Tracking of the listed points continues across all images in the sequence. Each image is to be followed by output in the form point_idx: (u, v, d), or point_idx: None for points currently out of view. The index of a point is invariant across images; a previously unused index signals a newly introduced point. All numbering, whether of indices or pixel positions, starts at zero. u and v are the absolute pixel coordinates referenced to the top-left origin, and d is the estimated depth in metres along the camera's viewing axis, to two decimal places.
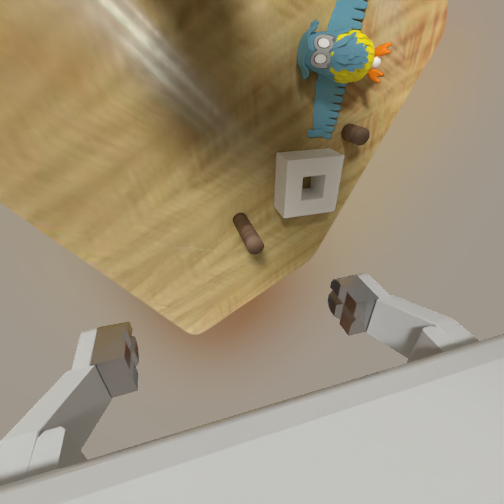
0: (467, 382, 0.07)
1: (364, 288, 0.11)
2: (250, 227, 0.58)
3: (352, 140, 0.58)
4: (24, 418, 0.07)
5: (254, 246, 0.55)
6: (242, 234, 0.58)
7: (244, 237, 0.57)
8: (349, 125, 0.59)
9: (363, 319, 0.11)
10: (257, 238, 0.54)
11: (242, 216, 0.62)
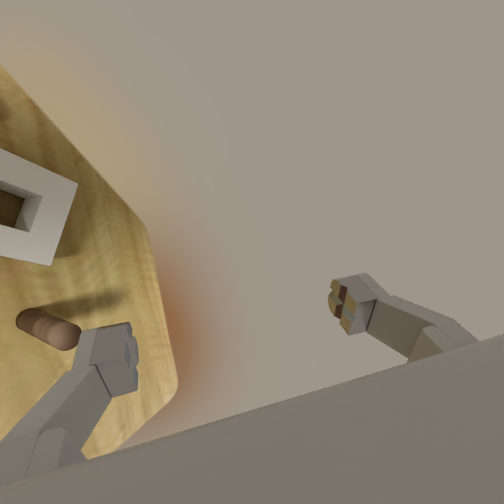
0: (467, 382, 0.07)
1: (364, 288, 0.11)
2: (38, 325, 0.37)
3: None
4: (24, 418, 0.07)
5: (65, 339, 0.35)
6: (43, 341, 0.37)
7: (47, 343, 0.36)
8: None
9: (363, 319, 0.11)
10: (54, 331, 0.34)
11: (21, 319, 0.40)
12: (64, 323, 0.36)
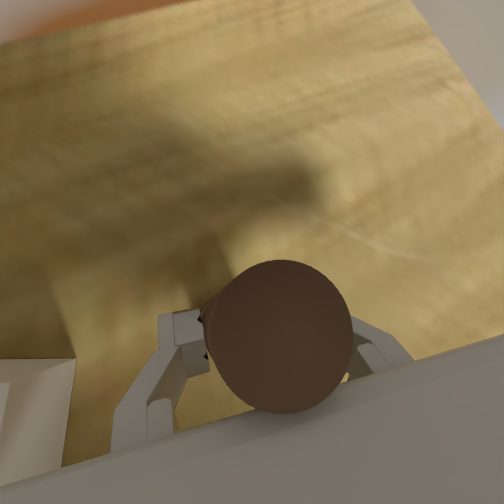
0: (467, 382, 0.07)
1: None
2: None
3: None
4: (128, 391, 0.08)
5: (298, 342, 0.06)
6: None
7: None
8: None
9: None
10: None
11: None
12: (212, 354, 0.07)
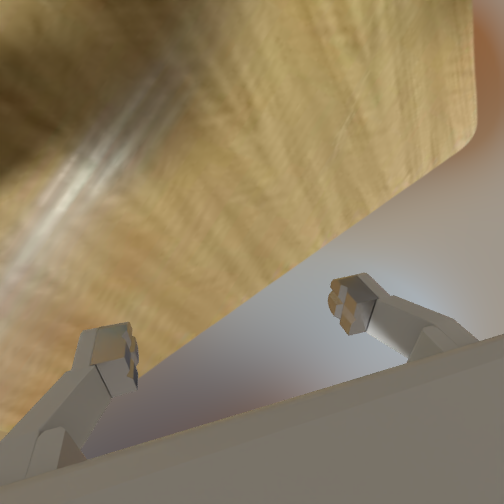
0: (467, 382, 0.07)
1: (364, 288, 0.11)
2: None
3: None
4: (25, 418, 0.07)
5: None
6: None
7: None
8: None
9: (363, 319, 0.11)
10: None
11: None
12: None
